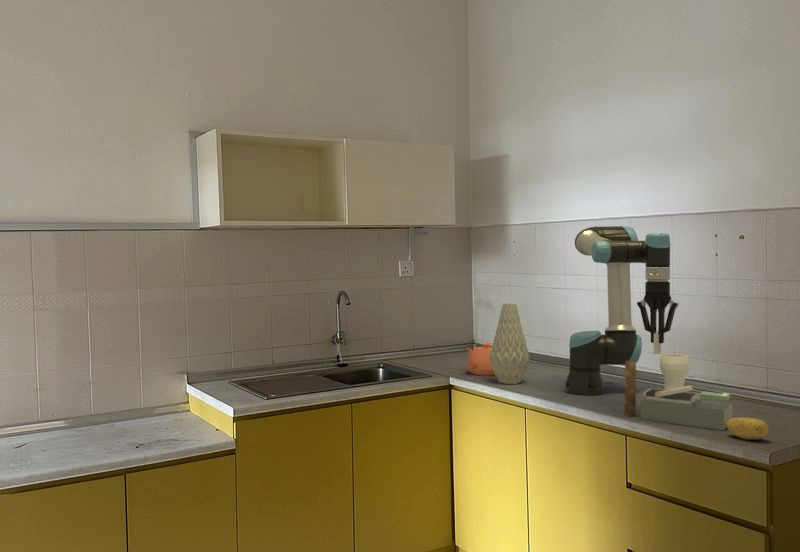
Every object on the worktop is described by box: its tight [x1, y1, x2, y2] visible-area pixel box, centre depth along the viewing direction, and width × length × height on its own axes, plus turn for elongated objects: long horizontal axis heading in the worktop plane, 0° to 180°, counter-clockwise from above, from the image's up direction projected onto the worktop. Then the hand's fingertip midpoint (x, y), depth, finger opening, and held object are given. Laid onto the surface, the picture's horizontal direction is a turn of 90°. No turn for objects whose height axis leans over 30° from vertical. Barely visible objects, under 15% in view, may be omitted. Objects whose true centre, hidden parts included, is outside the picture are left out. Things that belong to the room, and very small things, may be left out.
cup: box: [659, 353, 691, 390], centre depth 270 cm, size 11×11×15 cm
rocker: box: [654, 384, 694, 397], centre depth 231 cm, size 11×4×1 cm, turn 55°
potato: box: [726, 417, 770, 441], centre depth 206 cm, size 7×11×6 cm, turn 41°
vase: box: [489, 303, 531, 385], centre depth 295 cm, size 17×17×33 cm
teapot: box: [465, 342, 495, 377], centre depth 318 cm, size 25×17×13 cm
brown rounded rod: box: [624, 361, 637, 417], centre depth 236 cm, size 3×3×18 cm
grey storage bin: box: [640, 387, 733, 431], centre depth 229 cm, size 25×13×8 cm, turn 55°
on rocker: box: [699, 390, 731, 402], centre depth 224 cm, size 8×5×1 cm, turn 55°
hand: (657, 353), depth 231 cm, fingers closed
